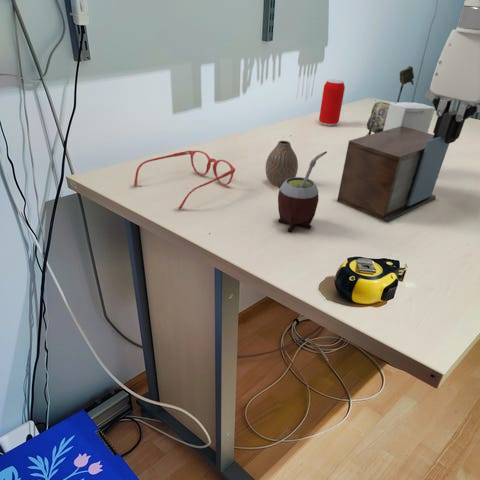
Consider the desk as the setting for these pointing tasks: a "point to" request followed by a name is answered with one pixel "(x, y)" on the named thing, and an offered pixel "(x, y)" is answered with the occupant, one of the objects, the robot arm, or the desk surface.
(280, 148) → the vase
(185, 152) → the red eyeglasses
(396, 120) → the cosmetic box
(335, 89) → the beverage can
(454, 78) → the robot arm
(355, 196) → the cabinet
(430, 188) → the sliding door
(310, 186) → the mate gourd
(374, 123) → the camouflage trail camera
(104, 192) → the desk surface
